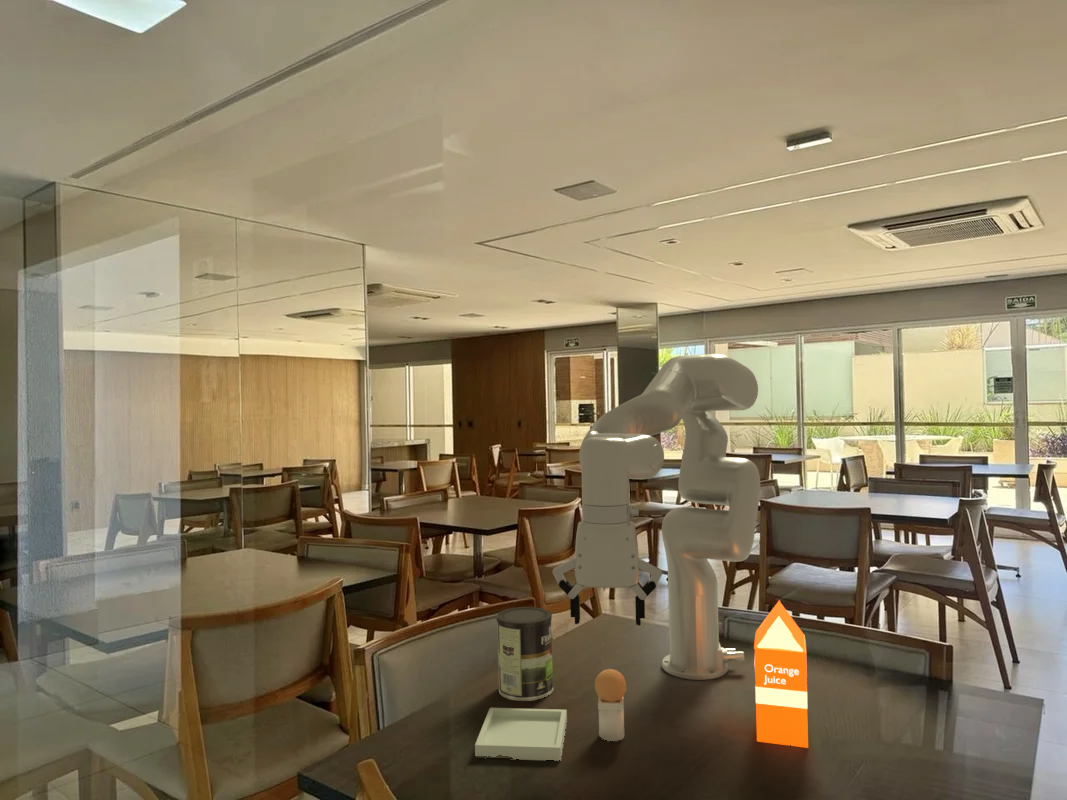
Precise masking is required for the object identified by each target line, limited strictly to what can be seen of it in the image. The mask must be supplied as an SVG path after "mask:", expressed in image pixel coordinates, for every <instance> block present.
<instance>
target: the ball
mask: <svg viewBox="0 0 1067 800" xmlns="http://www.w3.org/2000/svg"><path fill="white" fill-rule="evenodd" d="M626 682H627V681H626V679H625V677H624V675H623V674H622V673H621V672H620V671H618V670H617V669H615V668H614V669H613V668H608V669H603V670H602V671H601V672H600V673H598V674H597V676H596V678H595V681H594V689H595V692H596V694H597V696H599V697H600V698H601V699H602V700H603V701H605V702H617V701H619V700H620V699H621V698H622V697H624V696H625V694H626V692H627V683H626Z"/></svg>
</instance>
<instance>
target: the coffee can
mask: <svg viewBox="0 0 1067 800" xmlns="http://www.w3.org/2000/svg"><path fill="white" fill-rule="evenodd" d="M552 615H553V614H552V612H551V611H550V610H548V609H545V608H541V607H536V606H535V607H534V606H518V607H512V608H507V609H504V610H500V611H499V612H498V613H497V614H496V615H495V618H496V622H497V624H496V626H497V627H496V628H497V629H496V630H497V662H498V693H499V695H500V696H501V697H503V698H505V699H507V700H510V701H515V702H516V701H517V702H532V701H538V699H539V700H542V699H545V698H548V697H549V696H551V694H552V693H553V691H554V679H553V673H554V671H553V669H554V668H553V643H552V642H553V641H552V640H553V635H552ZM548 695H549V696H548ZM544 697H545V698H544Z"/></svg>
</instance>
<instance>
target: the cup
mask: <svg viewBox="0 0 1067 800" xmlns="http://www.w3.org/2000/svg"><path fill="white" fill-rule="evenodd" d="M597 696H598V695H597ZM624 700H625V698H624V696H623V697H622V698H621V699H620V700H619V701H617V702H605V701H603V700H602V699H601V698H600V697H599V696H598V697H597V710H598V736H599V738H600V737H601V738H602V739H601V738H600V739H601V740H603V739H604V740H603V741H605V740H607V741H606V742H610V741H613V742H614V741H615V742H619V740H620V741H622V740H624V738H625V705H624V704H625V703H624ZM613 742H612V743H613Z"/></svg>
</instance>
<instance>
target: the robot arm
mask: <svg viewBox="0 0 1067 800" xmlns="http://www.w3.org/2000/svg"><path fill="white" fill-rule="evenodd" d="M758 395H759V385H758V381H757V378H756V376H755V374H754V372H753V371H752V370H751V369H750V368H749V367H747V366H745V365H743V364H742V363H741V362H739V361H737V360H736V359H734V358H731V356H727V355H724V354H720V353H719V354H718V353H710V354H691V355H689V354H688V355H678V356H674V357H672V358H670V359H668V360H667V361H665V363H663V365H662V366H661V367H660V368H659V370H658V372H657V373H656V374H655V375H654V377H653V379H652V380H651V381H650V382H649V384H648V385H647V386H646V388H645V389H644V391H643V392H642V393H641V394H639V395H637V396H636V397H633V398H631V399H630V400H627V401H625V402H623V403H622V404H619V405H617V406H615V407H614V408H612V409H611V410H608V411H606V412H605V413H603V414H602V415H601V416H600V417H599V418H598V419H597V420H596V421H595V422H594V424H593V425H592V426H591V427H590V428H589V430H588V431H587V433H586V434H585V436H584V438H583V440H582V442H581V444H580V448H579V452H578V459H579V463H580V467H581V512H582V513H581V514H582V515H581V517H582V520H581V521H579V522H578V523H577V527H576V528H577V529H576V536H575V546H574V547H575V550H574V557H572V558H571V559H569V560H567V561H565V562H563V563H561V564H559V565H557V566H556V567H554V568H553V569H552V575H553V576H554V578H555V580H556V583H557V585H558V586H559V589H561V590H562V592H564V593H565V594H566V595H567V596H568V598H569V599H570V600H569V603H570V605H569V606H570V607H569V608H570V618H574V625H579V624H580V621H581V596H580V595H579V593H580V592H581V591H582V590H583V589H584V588H598V589H599V588H602V589H603V588H604V589H605V588H606V589H607V588H608V589H612V588H613V589H625V588H626V589H627V588H628V589H629V588H630V589H631V590H632V591H633V592H634V594H635V595H636V596H635V597H634V599H635V600H634V601H635V625H636V626H641V620H642V619H643V620H644V619H646V612H645V611H646V607H645V606H646V605H645V604H646V603H645V602H646V601H645V600H646V599H647V597H648V596H649V595H650V594H651V593H652V592H653V591H654V590H655V589H656V587H657V585H658V583H659V581H660V580H661V578H662V575H663V572H662V569H661V568H660V567H658V566H655V565H654V564H651V563H649V562H648V561H646V560H643V559H642V558H640V557H639V546H638V545H639V544H638V543H639V542H638V536H637V529H636V526H635V522H634V521H631V520H630V519H632V518H634V517H639V515H640V514H639V513H640V510H639V509H640V508H639V507H636V506H635V507H634V506H632V504H630V479H631V480H647V479H651V478H653V477H655V476H656V475H657V474H659V472H660V471H661V470H662V467H663V465H664V461H665V452H664V447H663V446H662V444H661V442H660V441H659V440H658V439H657V438H656V437H654V435H658V434H661V433H664V432H667V431H670V430H672V429H674V428H675V427H677V426H678V425H679V424H680V423H681V420H682V422H683V426H684V432H685V438H684V447H683V453H682V457H681V462H680V463H681V464H680V468H679V469H680V470H679V475H678V485H677V486H678V492H679V495H680V497H681V498H682V499H684V500H685V501H687V502H690V503H694V504H701V505H702V504H704V505H716V506H726V507H727V506H729V508H728V509H727V510H726V509H713V508H704V507H690V506H688V507H687V506H686V507H685V506H684V507H677V508H673V509H672V510H670V511H668V512H667V513H666V514H665V516H664V518H663V520H662V522H661V524H662V525H661V536H662V542H663V547H664V551H665V557H666V566H667V580H668V581H667V582H668V583H667V586H668V587H667V589H668V590H667V591H668V624H669V625H668V627H669V630H668V631H669V632H668V635H669V636H668V637H669V653H668V654H667V655H665V656H664V657H663V659H662V661H661V666H662V669H663V671H665V672H666V673H668V674H669V675H672V676H674V677H677V678H681V679H686V680H697V681H702V680H703V681H706V680H707V681H708V680H713V679H717V678H720V677H723V676H725V674H726V673H727V672H728V670H729V668H728V662H735V663H745V652H744V651H736V648H732V647H731V648H724V647H722V646H721V643H720V641H719V640H720V637H719V635H720V633H719V631H720V630H719V592H718V591H719V588H718V585H719V584H718V579H717V578H718V577H717V574H716V573H715V571H714V568H713V567H712V565H711V563H710V561H709V560H715V561H724V562H733V563H734V562H735V563H737V562H743V561H745V560H747V559H748V558H749V556H750V555H751V553H752V549H753V547H754V543H755V542H754V540H755V534H756V527H757V526H756V525H757V518H758V512H759V511H758V510H759V503H760V494H761V477H760V472H759V469H758V467H757V465H756V464H755V463H754V462H753V461H752V460H750V459H748V458H745V457H736V456H735V457H734V456H733V457H730V456H727V448H728V442H729V440H728V439H729V438H728V433H727V431H726V430H725V427H724V426H723V425H722V423H721V421H720V420H719V419H717V417H716V416H715V415H714V413H713V412H712V411H715V412H716V411H721V412H722V411H723V412H725V411H726V412H727V411H737V412H738V411H746V410H748V409H750V408H751V407H753V406H754V405H755V403H756V401H757V399H758ZM572 569H574V578H575V579H574V580H575V582H574V583H573V584H571V583H570V582H569V581H568V580H567V579H566V577H565V576H564V573H566V572H569V571H571V570H572ZM640 570H641V571H644V572H646V573H648V574H650V578H649V580H647V582H646V583H645V584H644V585H642V584H641V583H640V581H639V580H640V579H639V578H640Z"/></svg>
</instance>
